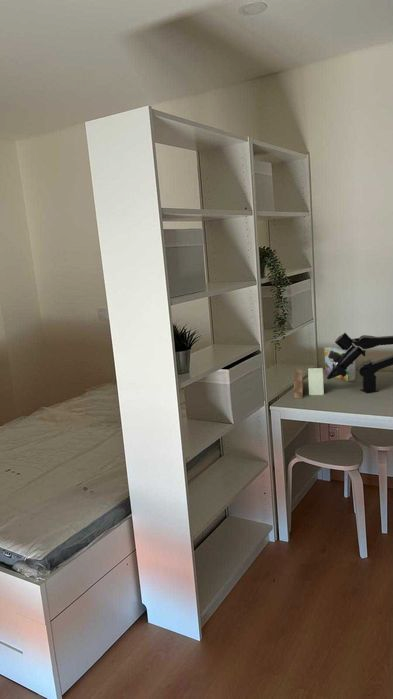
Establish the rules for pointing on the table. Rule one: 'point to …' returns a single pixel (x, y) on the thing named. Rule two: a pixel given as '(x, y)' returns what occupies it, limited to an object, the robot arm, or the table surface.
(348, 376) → the snack box
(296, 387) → the backstop board
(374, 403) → the table surface
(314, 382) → the green block
